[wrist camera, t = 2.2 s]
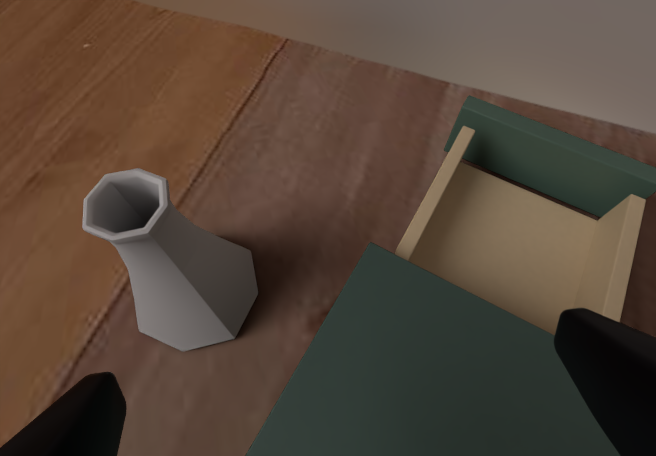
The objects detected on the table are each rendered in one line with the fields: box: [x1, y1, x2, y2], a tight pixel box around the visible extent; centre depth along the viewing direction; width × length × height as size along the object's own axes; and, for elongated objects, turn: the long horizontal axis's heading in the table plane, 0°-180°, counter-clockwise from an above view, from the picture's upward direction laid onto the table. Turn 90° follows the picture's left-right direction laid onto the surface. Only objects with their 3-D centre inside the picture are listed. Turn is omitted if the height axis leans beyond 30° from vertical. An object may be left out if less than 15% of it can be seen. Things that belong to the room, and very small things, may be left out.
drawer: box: [394, 96, 656, 335], centre depth 22 cm, size 17×12×4 cm
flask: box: [83, 168, 258, 351], centre depth 19 cm, size 7×7×10 cm
